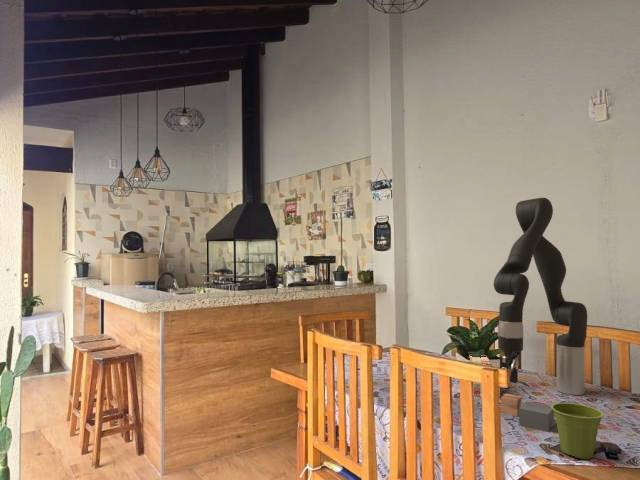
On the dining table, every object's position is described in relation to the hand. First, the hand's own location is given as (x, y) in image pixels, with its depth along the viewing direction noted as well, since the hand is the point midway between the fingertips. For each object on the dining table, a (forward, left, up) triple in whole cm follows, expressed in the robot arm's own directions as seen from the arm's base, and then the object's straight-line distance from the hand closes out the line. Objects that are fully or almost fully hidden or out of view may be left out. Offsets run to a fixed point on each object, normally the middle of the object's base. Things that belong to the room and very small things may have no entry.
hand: (510, 385), depth 150 cm
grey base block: (+6, +9, -9) cm, 14 cm away
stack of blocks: (-20, -17, -9) cm, 27 cm away
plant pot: (+21, +22, -9) cm, 32 cm away
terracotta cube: (0, 0, -9) cm, 9 cm away
